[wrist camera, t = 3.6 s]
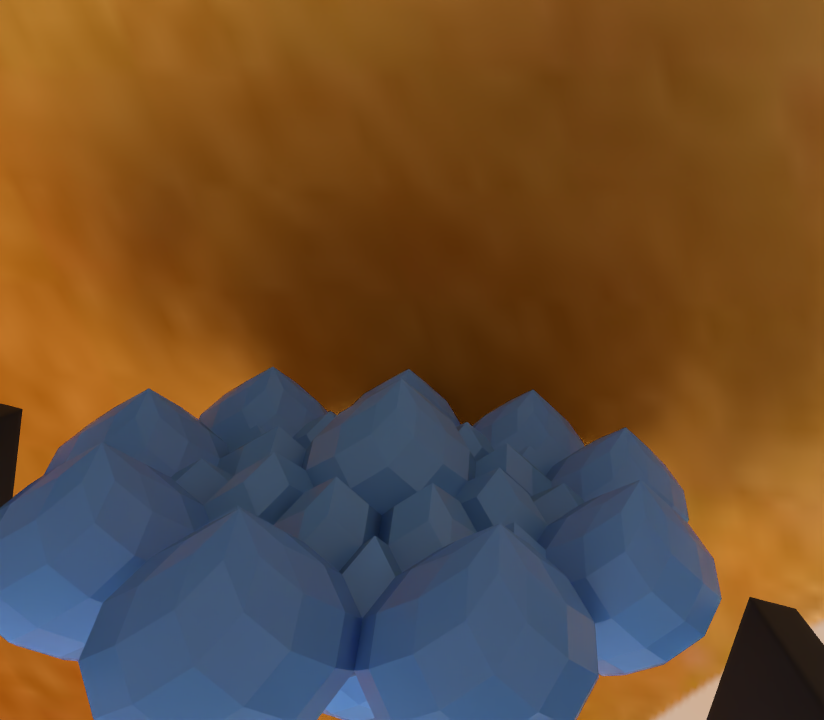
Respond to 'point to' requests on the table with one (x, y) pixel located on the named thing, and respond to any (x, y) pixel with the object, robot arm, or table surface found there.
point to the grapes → (350, 559)
